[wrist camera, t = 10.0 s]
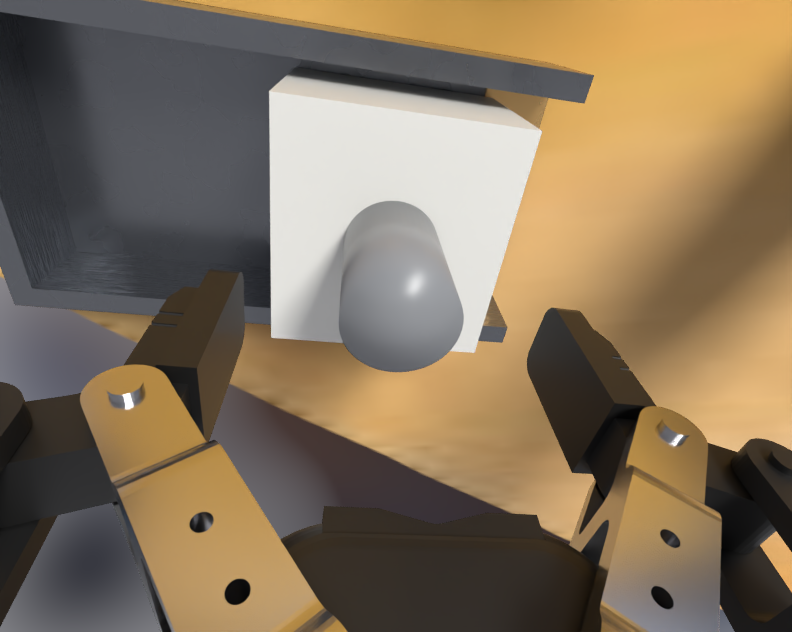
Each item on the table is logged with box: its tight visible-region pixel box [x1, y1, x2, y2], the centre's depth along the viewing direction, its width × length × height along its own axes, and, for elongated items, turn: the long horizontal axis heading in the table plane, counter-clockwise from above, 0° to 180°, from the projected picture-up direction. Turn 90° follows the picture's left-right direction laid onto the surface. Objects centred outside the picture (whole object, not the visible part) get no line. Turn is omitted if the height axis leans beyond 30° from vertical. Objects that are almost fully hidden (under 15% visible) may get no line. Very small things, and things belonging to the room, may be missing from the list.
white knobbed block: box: [269, 67, 542, 372], centre depth 18 cm, size 10×9×12 cm
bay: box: [0, 0, 594, 343], centre depth 21 cm, size 13×24×5 cm, turn 82°
